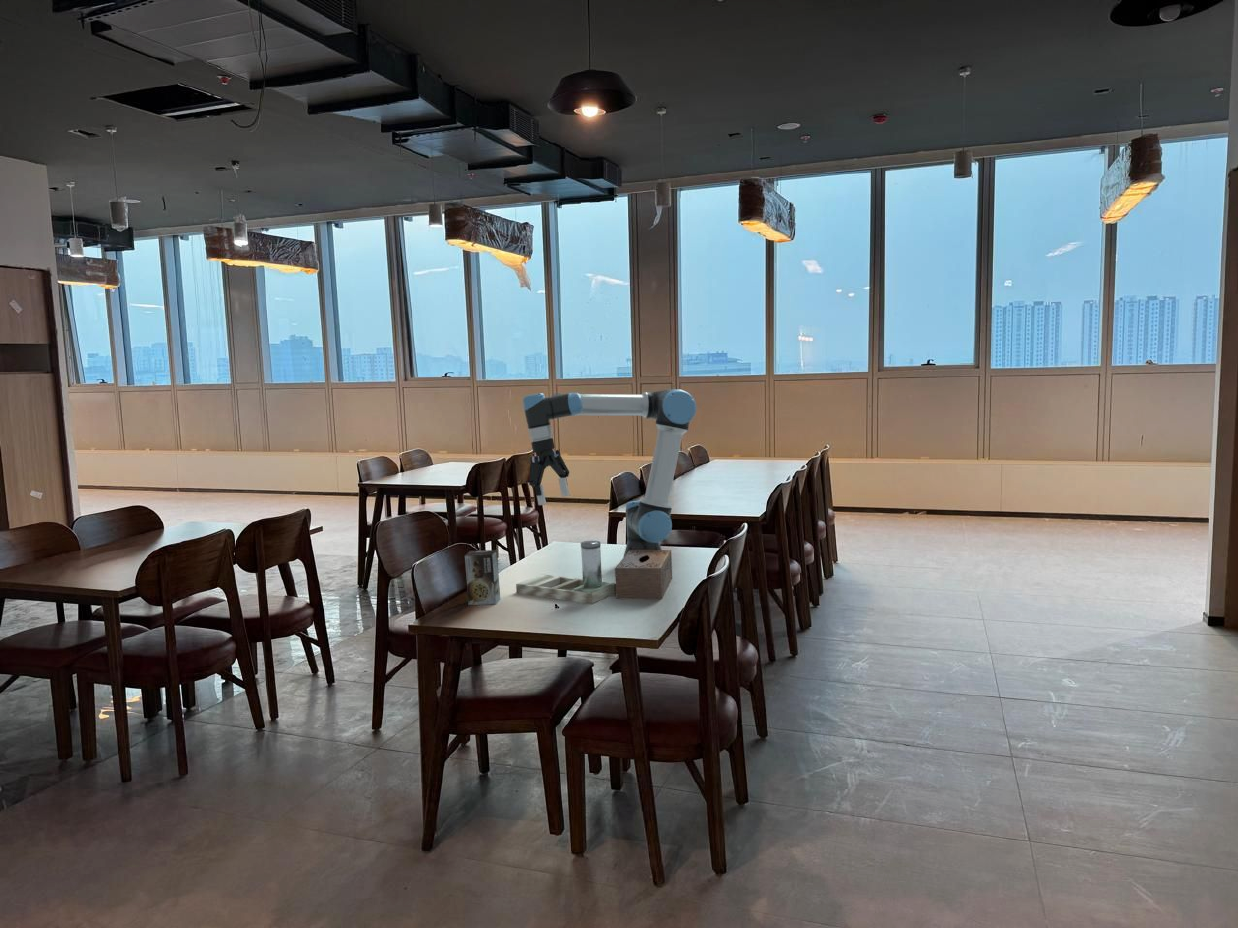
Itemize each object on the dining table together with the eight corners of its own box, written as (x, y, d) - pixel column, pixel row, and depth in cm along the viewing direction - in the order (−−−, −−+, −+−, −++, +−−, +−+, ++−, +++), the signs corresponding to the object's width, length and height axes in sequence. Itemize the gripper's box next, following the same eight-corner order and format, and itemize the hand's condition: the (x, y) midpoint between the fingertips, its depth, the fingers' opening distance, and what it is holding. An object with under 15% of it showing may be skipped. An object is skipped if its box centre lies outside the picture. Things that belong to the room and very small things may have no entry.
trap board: (516, 592, 269) (515, 582, 268) (543, 582, 280) (543, 573, 280) (590, 603, 252) (589, 592, 252) (616, 592, 263) (615, 582, 263)
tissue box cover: (630, 578, 282) (629, 550, 281) (672, 578, 279) (671, 550, 278) (616, 599, 257) (615, 568, 256) (662, 599, 254) (660, 568, 253)
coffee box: (501, 599, 262) (498, 549, 260) (496, 604, 256) (492, 554, 254) (473, 599, 263) (469, 550, 261) (467, 605, 256) (464, 554, 255)
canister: (602, 583, 262) (600, 540, 261) (601, 588, 256) (599, 544, 255) (583, 583, 263) (581, 541, 261) (582, 589, 257) (579, 545, 255)
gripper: (554, 435, 290) (566, 493, 292) (510, 446, 270) (523, 509, 271) (571, 432, 286) (583, 491, 288) (528, 443, 265) (541, 507, 267)
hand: (554, 500), depth 280 cm, fingers open, 13 cm apart
